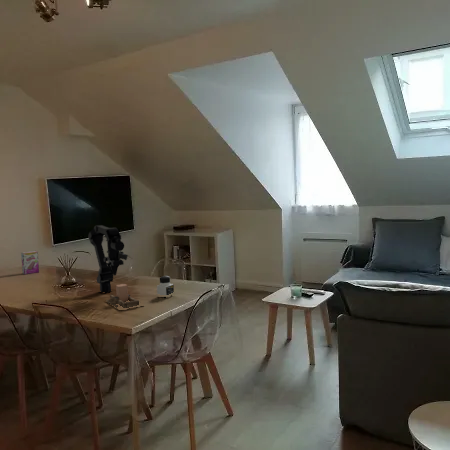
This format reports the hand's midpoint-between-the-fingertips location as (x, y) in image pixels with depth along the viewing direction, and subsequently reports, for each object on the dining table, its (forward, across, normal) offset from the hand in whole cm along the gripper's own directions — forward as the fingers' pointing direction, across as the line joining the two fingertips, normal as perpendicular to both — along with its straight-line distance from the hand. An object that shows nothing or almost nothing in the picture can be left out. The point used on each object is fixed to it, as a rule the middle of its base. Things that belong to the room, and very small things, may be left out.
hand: (114, 275), depth 271 cm
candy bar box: (+13, +110, +29) cm, 115 cm away
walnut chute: (+13, -19, +1) cm, 23 cm away
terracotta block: (+12, -16, +1) cm, 20 cm away
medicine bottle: (+13, -20, -24) cm, 34 cm away
